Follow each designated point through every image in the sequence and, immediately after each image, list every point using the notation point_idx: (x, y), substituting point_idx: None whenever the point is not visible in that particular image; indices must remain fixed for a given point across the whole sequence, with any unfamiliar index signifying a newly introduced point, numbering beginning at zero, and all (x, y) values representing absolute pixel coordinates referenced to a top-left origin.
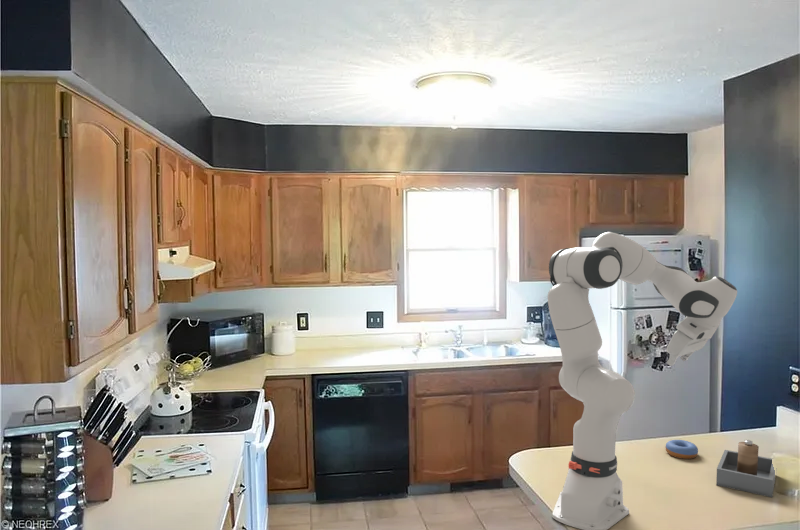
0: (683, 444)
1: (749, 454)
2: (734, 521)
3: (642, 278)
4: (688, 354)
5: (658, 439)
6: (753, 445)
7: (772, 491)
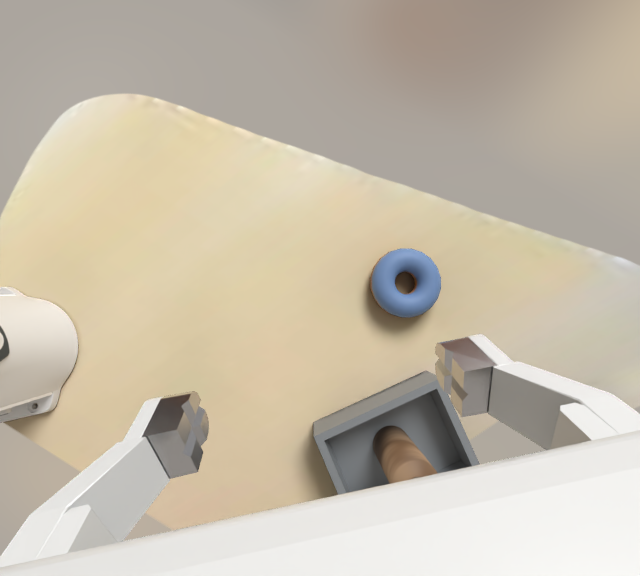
0: (419, 278)
1: None
2: None
3: None
4: (511, 414)
5: (435, 201)
6: None
7: None
